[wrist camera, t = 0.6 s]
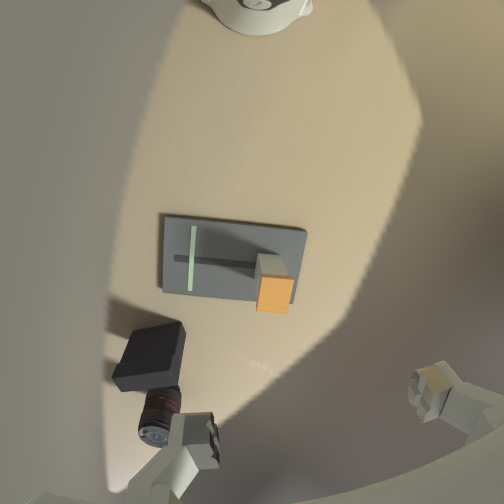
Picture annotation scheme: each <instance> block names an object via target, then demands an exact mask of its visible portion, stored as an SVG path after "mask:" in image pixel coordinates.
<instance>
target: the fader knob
mask: <svg viewBox="0 0 504 504" xmlns="http://www.w3.org/2000/svg"><path fill="white" fill-rule="evenodd" d="M293 283H294V278H293V276H289V274H288V271H287V269H286V267H285V264H284V262H283V259H282V257H281V255H274V254H263V253H257V260H256V267H255V274H254V285H255V290H256V296H257V304H256V311H258V312H272V313H287V312H288V307H289V302H290V298H291V293H292V288H293Z"/></svg>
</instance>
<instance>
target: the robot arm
mask: <svg viewBox="0 0 504 504" xmlns="http://www.w3.org/2000/svg"><path fill="white" fill-rule="evenodd" d="M201 1H202V2H203V3H205V4H206V5H208V6H210V7H211V8H212V10H213V11H214V13H215V14H216V16H217V18H218V19H219V20H220V21H221V22H222V23H223V24H224V25H225V26H227V27H228V28H230V29H232V30H234V31H236V32H239V33H242V34H246V35H253V36H262V35H269V34H273V33H276V32H279V31H281V30H283V29H284V28H286V27H287V26H289V25H290V24H291V23H292V22H293V21H294V20H296V19H297V18H301V17H304V16H307V15H309V14H310V13H311V12H312V0H201ZM411 379H412V380H413V381H412V382H411V384H410V385H409V388H408V397H409V400H410V402H411V404H412V405H413V406H415V407H417V414H418V416H419V417H420V419H421V421H422V422H423V423H424V422H427V421H430V420H433V419H435V418H438V417H439V418H441V419H442V420H444V421H446V422H447V423H449V424H451V425H452V426H454V427H456V428H457V429H459V430H461V431H463V432H464V433H466V434H468V435H469V438H468V439H467V441H466V443H465V445H464V447H463V448H462V449H459V450H457V451H456V452H453V453H451V454H449V455H447V456H445V457H443V458H441V459H439V460H436V461H434V462H432V463H429V464H427V465H425V466H423V467H420V468H417V469H415V470H413V471H410V472H407V473H405V474H403V475H400V476H397V477H395V478H391V479H388V480H385V481H382V482H379V483H376V484H373V485H370V486H367V487H363V488H360V489H356V490H353V491H349V492H345V493H341V494H337V495H333V496H329V497H325V498H321V499H315V500H311V501H306V502H300V503H294V504H504V396H502V395H499V394H496V393H494V392H491V391H488V390H486V389H483V388H481V387H478V386H475V385H473V384H470V383H467V382H464V383H463V382H462V381H461V380H460V378H459V377H458V376H457V375H456V374H455V372H454V371H453V370H452V369H451V368H450V366H449V365H448V364H447V363H446V362H445V361H441V362H438V363H435V364H433V365H429V366H427V367H424V368H421V369H418V370H415V371H414V372H413V373H412V376H411ZM219 446H220V438H219V431H218V427H217V424H215V423H214V416H213V413H212V412H201V413H178V414H173V416H172V420H171V427H170V434H169V441H168V446H164V447H163V448H162V449H161V450H160V451H159V452H158V453H157V454H156V455H155V456H154V457H153V458H152V459H151V460H150V461H149V462H148V463H147V464H146V465H145V466H144V467H143V468H142V469H141V470H140V471H139V472H138V473H137V474H136V475H135V476H134V477H133V478H132V479H131V480H130V481H129V484H128V489H127V494H126V500H125V504H182V503H181V501H180V500H179V498H180V496H181V495H182V494H183V492H184V491H185V490H186V488H187V486H188V485H189V484H190V482H191V481H192V480H193V478H194V477H195V475H196V474H197V472H198V469H213V468H220V454H219V451H218V447H219ZM25 504H99V503H94V502H88V501H83V500H79V499H74V498H70V497H66V496H62V495H57V494H54V493H50V492H43V493H41V494H39V495H37V496H35V497H34V498H32V499H30V500H29V501H27V502H26V503H25Z"/></svg>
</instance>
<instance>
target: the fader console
mask: <svg viewBox="0 0 504 504" xmlns="http://www.w3.org/2000/svg"><path fill="white" fill-rule="evenodd" d="M306 238H307V231H306V230H300V229H292V228H283V227H274V226H265V225H256V224H247V223H238V222H228V221H218V220H208V219H198V218H188V217H177V216H165V225H164V248H163V293H172V294H181V295H191V296H201V297H211V298H222V299H233V300H245V301H257V296H256V290H255V285H254V274H255V267H256V260H257V253H263V254H274V255H281V257H282V259H283V262H284V264H285V267H286V269H287V271H288V274H289V276H293V278H294V283H293V288H292V293H291V298H290V302H289V304H293V301H294V296H295V292H296V287H297V282H298V277H299V273H300V268H301V263H302V258H303V253H304V248H305V243H306Z"/></svg>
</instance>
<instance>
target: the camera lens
mask: <svg viewBox="0 0 504 504" xmlns="http://www.w3.org/2000/svg"><path fill="white" fill-rule="evenodd" d="M180 408H181V392H180V388H179V386H178V385H175V386H169V387H161V388H154V389H149V390H148V392H147V395H146V399H145V405H144V409H143V412H142V414H141V418H140V422H139V426H138V434H139V437H140V439H141V440H142V441H143V442H145V443H146V444H148V445H150V446H153V447H157V448H163V447H164V446H168V441H169V434H170V427H171V420H172V416H173V414H178V413H180Z"/></svg>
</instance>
